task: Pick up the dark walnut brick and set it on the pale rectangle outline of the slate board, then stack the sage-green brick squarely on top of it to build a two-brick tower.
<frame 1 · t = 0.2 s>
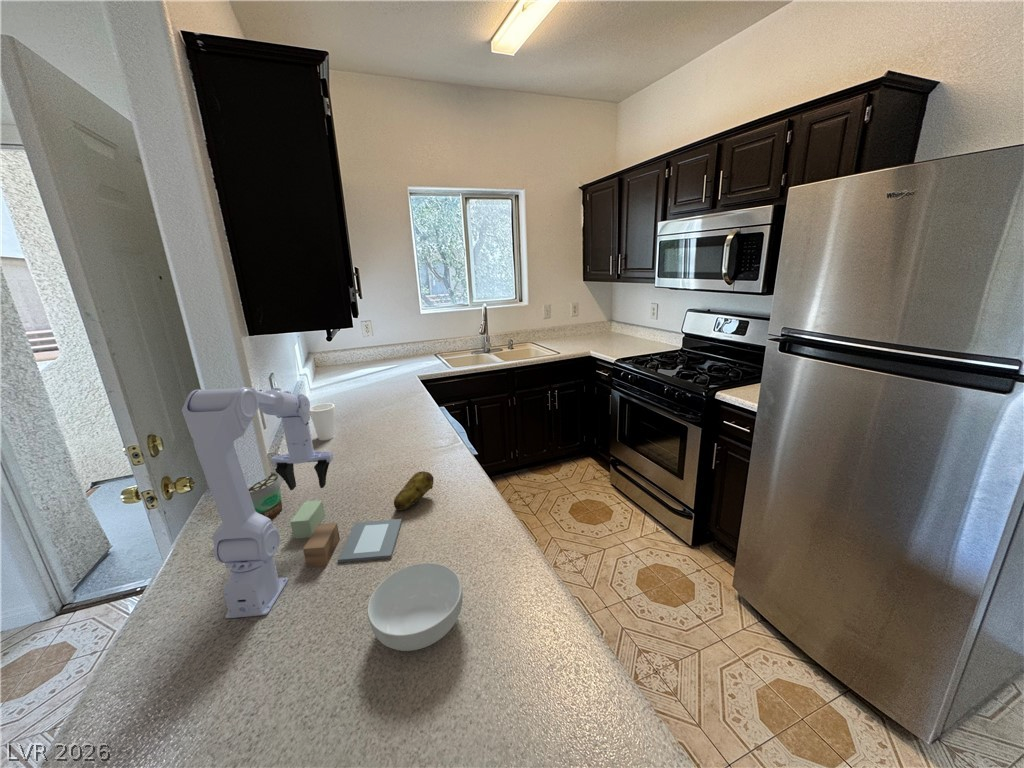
hand: (308, 487, 105), 10 cm above the countertop, tool pointing down, fingers open, 7 cm apart
foam cup: (327, 437, 162), on the countertop
cereal bowl: (419, 625, 74), on the countertop
food container: (272, 515, 110), on the countertop
green brick: (310, 527, 104), on the countertop
potato: (414, 502, 114), on the countertop
walnut brick: (324, 553, 95), on the countertop
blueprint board: (372, 540, 98), on the countertop
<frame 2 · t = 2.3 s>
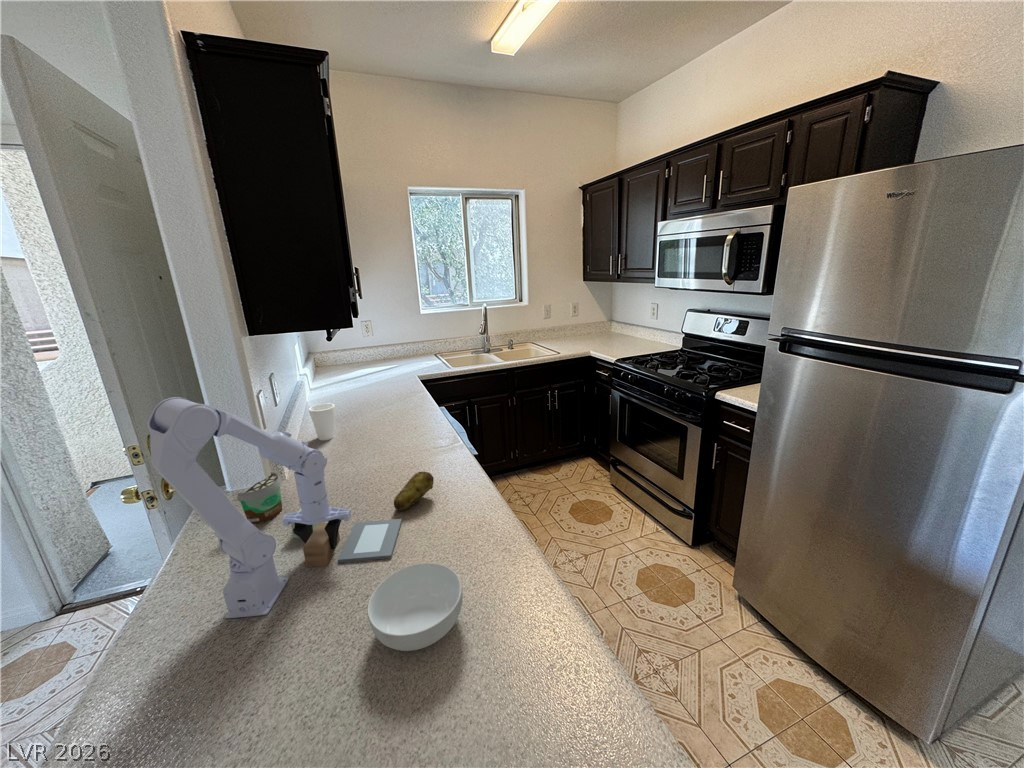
hand: (323, 547, 94), 1 cm above the countertop, tool pointing down, fingers closed on walnut brick, 4 cm apart
walnut brick: (324, 552, 94), on the countertop, touching gripper
everything else where it was.
when the fingers open (3 cm above the countertop, at t = 5.4 s): walnut brick drops 1 cm, resting on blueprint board.
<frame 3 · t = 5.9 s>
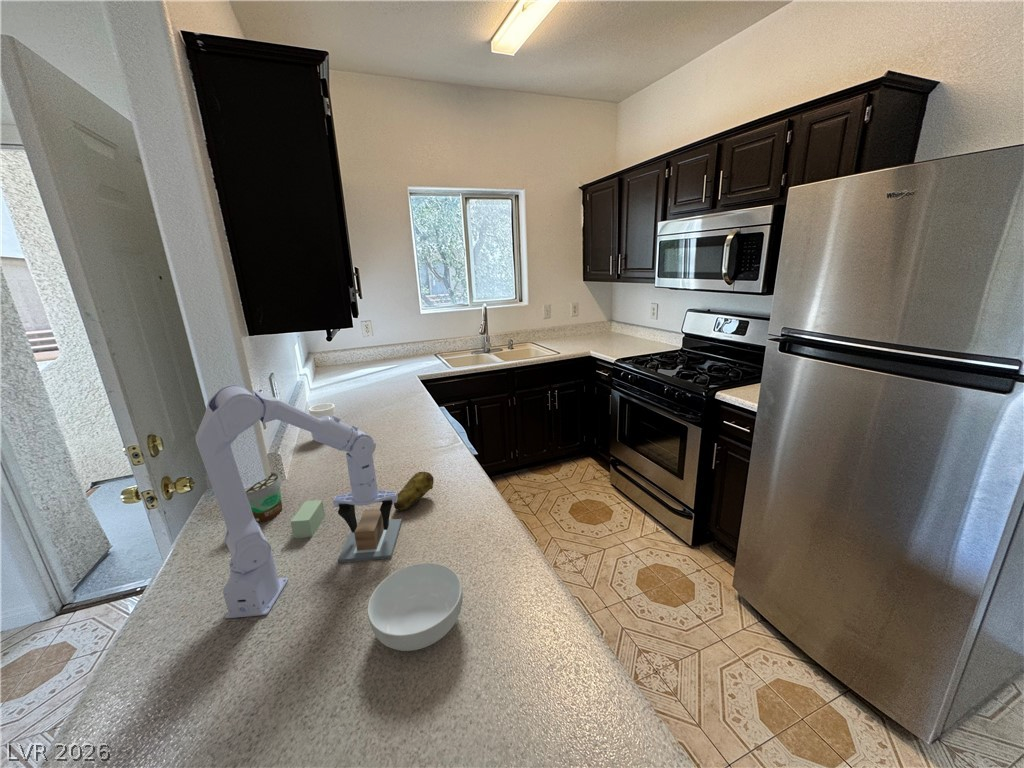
hand: (370, 528, 97), 3 cm above the countertop, tool pointing down, fingers open, 7 cm apart
walnut brick: (371, 537, 98), point 1 cm above the countertop, touching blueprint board
everything else where it was.
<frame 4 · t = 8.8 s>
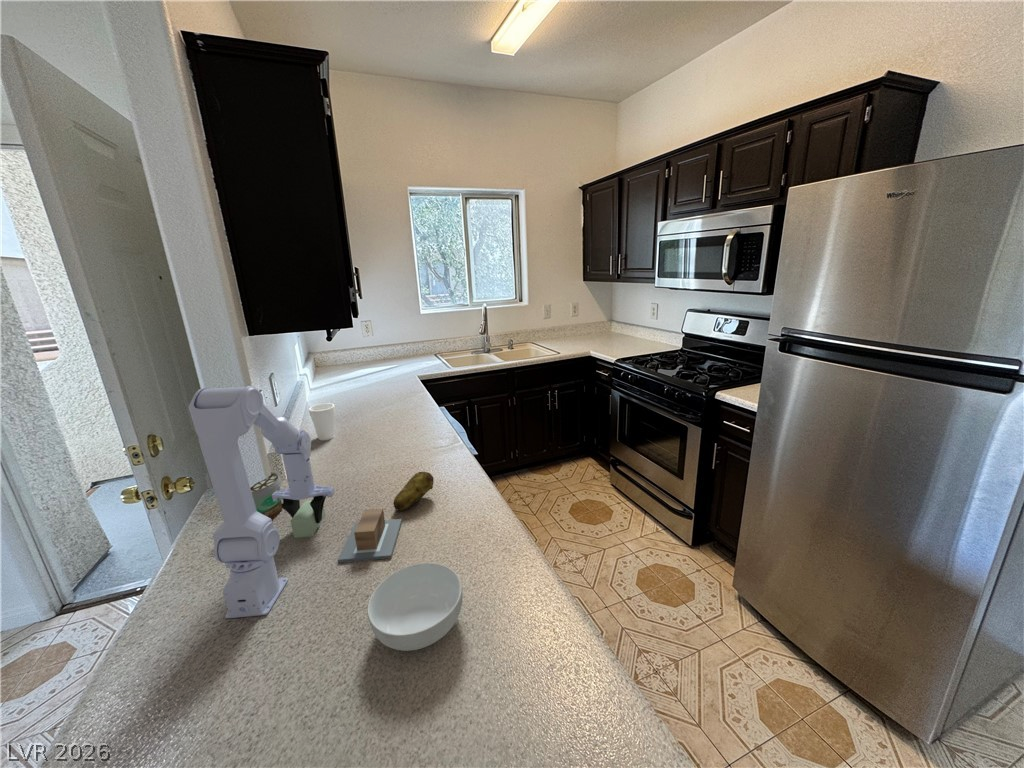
hand: (309, 521, 104), 1 cm above the countertop, tool pointing down, fingers closed on green brick, 4 cm apart
green brick: (310, 526, 105), on the countertop, touching gripper
everything else where it was.
when the fingers open (8 cm above the countertop, at t = 12.6 s): green brick stays where it is, resting on walnut brick.
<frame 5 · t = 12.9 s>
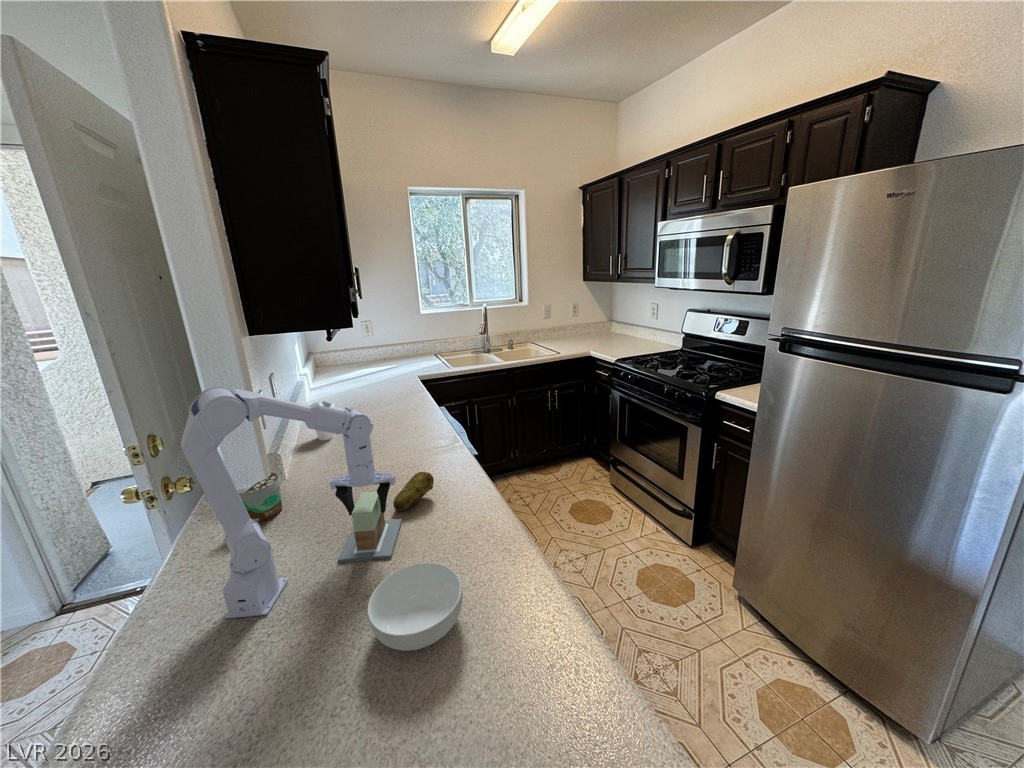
hand: (368, 511, 96), 8 cm above the countertop, tool pointing down, fingers open, 7 cm apart
green brick: (369, 519, 97), point 6 cm above the countertop, touching walnut brick
walnut brick: (371, 537, 98), point 1 cm above the countertop, touching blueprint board, green brick
everything else where it was.
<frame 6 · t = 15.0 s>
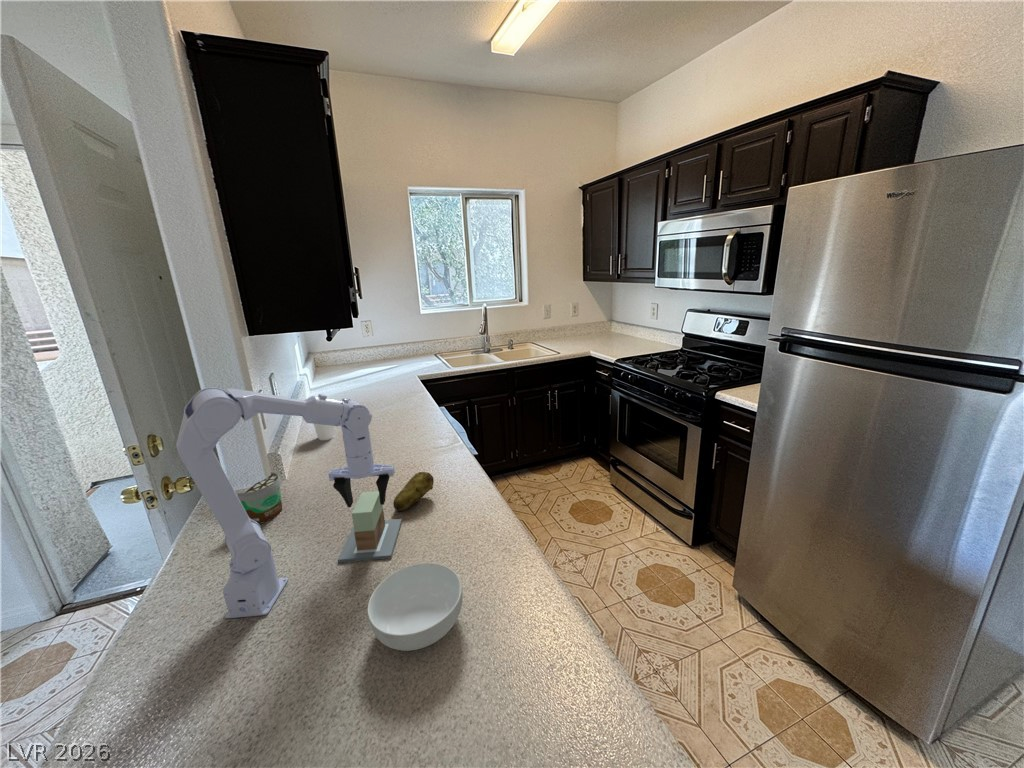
hand: (366, 503, 95), 10 cm above the countertop, tool pointing down, fingers open, 7 cm apart
nothing on the countertop moved.
at the end: walnut brick 0.1 cm off-centre on the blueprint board, point 0.8 cm above the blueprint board's base; green brick 0.2 cm off-centre on the walnut brick, point 5.0 cm above the walnut brick's base; green brick tilted 0° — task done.
